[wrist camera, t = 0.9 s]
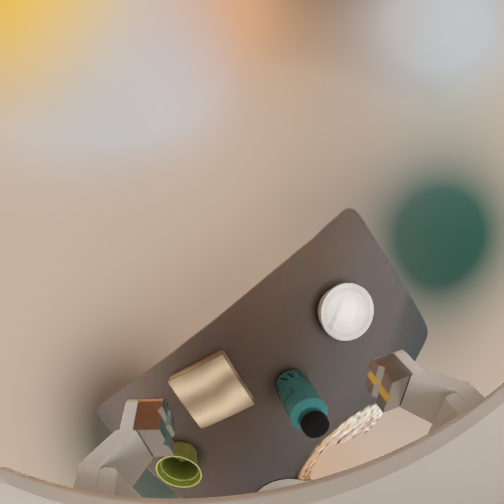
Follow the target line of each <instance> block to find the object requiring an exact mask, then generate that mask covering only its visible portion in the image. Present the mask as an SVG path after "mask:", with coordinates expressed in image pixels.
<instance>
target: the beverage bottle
mask: <svg viewBox="0 0 504 504" xmlns="http://www.w3.org/2000/svg"><path fill="white" fill-rule="evenodd" d="M304 375H305V374H304ZM304 375H303V374H302V373H301V372H299V371H298V370H297V371H296V370H290V371H286V372H284V373H283V374H282V375H281V376H280V377H279V378H278V380H277V383H276V389H277V391H278V393H279V398H281V399H280V400H282V403H283V405H284V408H285V409H286V411H285V412H287V413H288V416H289V418H290V421H291V423H292V425H293V426H294V427H295V428H297V429H299V430H302V431H303V432H304V433H305V434H306V435H307V436H308V437H311V438H316V437H320V436H322V435H324V434H325V433H326V432H327V430H328V428H329V421H328V419H327V414H328V407H327V405H326V403H325V402H324V401H323V400H322V399H321V397H320V396H319V395H318V393H317V392H316V391H315V390H316V389H314V388H313V386H312V385H311V384H310V382H309V381H308V380H307V379H308V378H307V377H305V376H304Z"/></svg>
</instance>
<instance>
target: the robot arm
mask: <svg viewBox="0 0 504 504" xmlns="http://www.w3.org/2000/svg"><path fill="white" fill-rule="evenodd" d="M369 369H370V370H371V371H370V372H369V374H368V375H367V379H366V383H367V388H368V391H369V393H370V394H371V395H372V396H374V397H376V398H377V400H376V403H377V404H378V406H379V407H380V409H381V410H382V412H383V413H384V412H386V411H389V410H391V409H394V408H397V407H399V406H400V407H401V408H403V409H405V410H407V411H409V412H411V413H413V414H415V415H416V416H418V417H421V418H423V419H425V420H426V421H429V422H431V423H432V426H431V428H430V430H429V432H428V434H427V435H425V436H423V437H422V438H420V439H418V440H416V441H414V442H412V443H410V444H408V445H406V446H404V447H401V448H399V449H397V450H395V451H393V452H391V453H388V454H386V455H384V456H381V457H379V458H377V459H374V460H372V461H369V462H367V463H364V464H362V465H359V466H357V467H353V468H350V469H348V470H345V471H342V472H339V473H335V474H332V475H329V476H326V477H322V478H319V479H315V480H306V481H303V480H297V479H283V480H278V481H274V482H272V483H269V484H267V485H265V486H264V487H262V488H261V489H260V490H259V491H258V492H255V493H248V494H240V495H232V496H222V497H209V498H185V499H166V498H143V497H142V496H141V495H139V494H138V493H137V491H135V489H133V487H132V486H133V485H134V484H135V483H136V481H137V480H138V478H139V477H140V476H141V474H142V473H143V472H144V470H145V469H146V468H147V466H148V465H149V464H150V462H151V461H152V459H153V457H163V456H174V449H175V442H174V440H173V439H172V437H173V436H174V435H175V423H174V419H173V416H172V413H171V412H170V411H168V404H167V402H166V399H128V400H127V401H126V403H125V408H124V412H123V416H122V420H121V425H120V429H119V430H115V431H114V432H113V433H112V434H111V435H110V436H109V437H108V438H107V439H106V440H105V441H103V442H102V443H101V444H100V445H99V446H98V447H97V448H96V449H95V450H94V451H92V452H91V453H90V454H89V455H88V456H87V457H86V458H85V459H84V460H82V461H81V462H80V464H79V468H78V472H77V476H76V480H75V484H74V488H72V487H68V486H64V485H60V484H56V483H52V482H48V481H45V480H41V479H38V478H35V477H32V476H29V475H25V474H23V473H20V472H17V471H14V470H12V469H9V468H6V467H1V468H0V504H504V383H503V384H502V385H501V386H500V387H498V388H497V389H496V390H494V391H493V392H492V393H490V394H489V395H488V396H486V397H485V398H484V397H483V396H482V395H481V394H480V393H479V392H478V391H477V390H476V389H475V388H474V387H473V386H472V385H471V384H470V383H469V382H466V381H463V380H459V379H456V378H452V377H449V376H446V375H442V374H439V373H436V372H433V371H429V370H426V369H425V370H422V369H421V368H420V367H419V366H418V365H417V364H416V363H415V361H414V360H413V359H412V358H411V357H410V356H409V355H408V354H407V353H406V352H405V351H404V350H399V351H396V352H394V353H391V354H388V355H385V356H382V357H379V358H376V359H373V360H371V362H370V364H369Z"/></svg>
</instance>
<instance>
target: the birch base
mask: <svg viewBox="0 0 504 504" xmlns="http://www.w3.org/2000/svg"><path fill="white" fill-rule="evenodd" d="M168 383H169V384H170V386H171V387H172V389H173V390H174V392H175V393H176V395H177V396H178V398H179V399H180V401H181V402H182V403H183V405H184V406H185V408H186V409H187V410H188V412H189V413H190V414H191V416H192V417H193V418H194V420H195V421H196V422H197V424H198V425H199V426H200V428H201V429H202V428H205V427H207V426H209V425H212V424H214V423H216V422H218V421H221V420H223V419H225V418H227V417H229V416H232V415H234V414H236V413H238V412H240V411H242V410H244V409H246V408H248V407H250V406H252V405H254V400H253V396H252V394H251V393H250V391H249V390H248V388H247V387H246V385H245V384H244V382H243V381H242V379H241V377H240V376H239V374H238V373H237V371H236V370H235V368H234V366H233V365H232V363H231V362H230V360H229V358H228V357H227V355H226V354H225V352H224V350H223V349H222V350H220V351H218V352H216V353H214V354H212V355H210V356H208V357H206V358H205V359H203V360H201V361H199V362H197V363H195V364H193V365H191V366H189V367H187V368H184V369H182V370H180V371H178V372H176V373H174V374H172V375H171V377H170V378H169V380H168Z"/></svg>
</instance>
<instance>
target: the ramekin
mask: <svg viewBox="0 0 504 504" xmlns="http://www.w3.org/2000/svg"><path fill="white" fill-rule="evenodd" d="M373 314H374V306H373V302H372V299H371V297H370V295H369V293H368V292H367V291H366V290H365V289H364V288H363V287H361V286H359V285H357V284H354V283H342V284H339V285H336V286H335V287H333V288H331V289H330V290H328V291H327V292H326V293H325V294H324V295H323V297H322V298H321V300H320V302H319V305H318V317H319V320H320V323H321V325H322V327H323V328H324V330H325V331H326V332H327V333H328V334H329V335H330V336H331V337H333V338H335V339H337V340H341V341H349V340H353V339H356V338H358V337H360V336H361V335H362V334H363V333H365V332H366V331H367V329H368V328H369V326H370V324H371V322H372V319H373Z"/></svg>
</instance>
